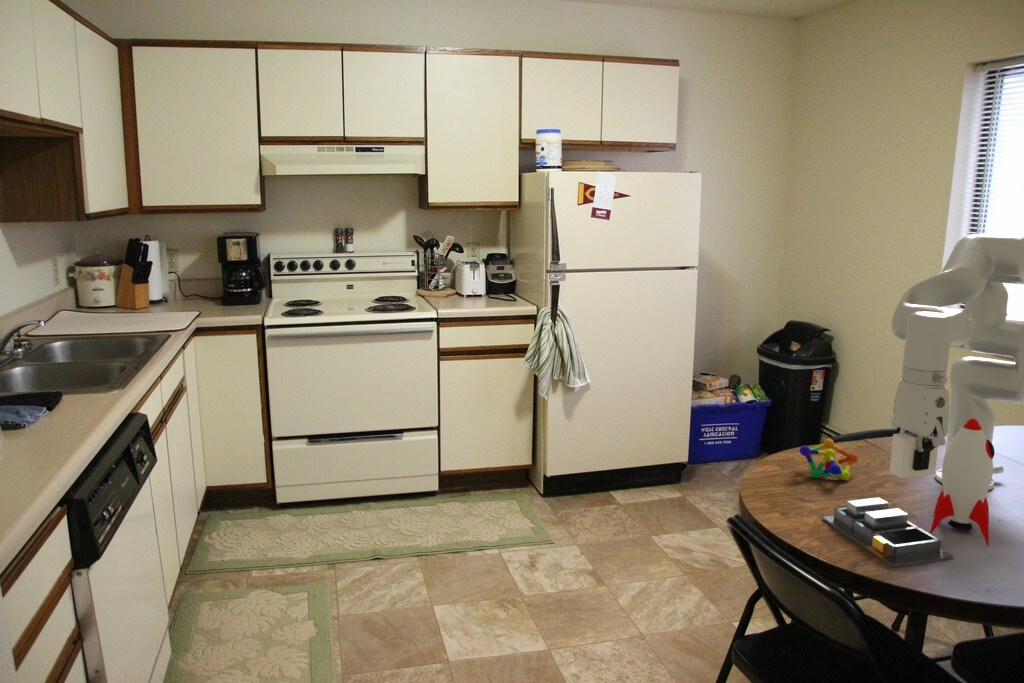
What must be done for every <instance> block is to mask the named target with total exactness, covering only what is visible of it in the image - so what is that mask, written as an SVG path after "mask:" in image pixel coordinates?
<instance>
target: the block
mask: <svg viewBox="0 0 1024 683" xmlns="http://www.w3.org/2000/svg"><path fill="white" fill-rule="evenodd" d="M917 440H918V435H916V434H913V433H911V432H910V433H899V434H897V433H893V434H892V442H891V443H892V444H891V452H890V460H889V462H890V463H889V471H888V472H889V473H890V474H891V475H894V476H895V477H898V478H899V479H901V478H902V479H903V478H912V477H923V476H930V475H935V473H936V467H937V457H938V451H939V446H937V447H935V448H934V450H933V451H930V459H929V468H928V469H927V470H918V471H915V470H913V461H914V452H915V450H917ZM925 442H927V439H924V443H925Z"/></svg>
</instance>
